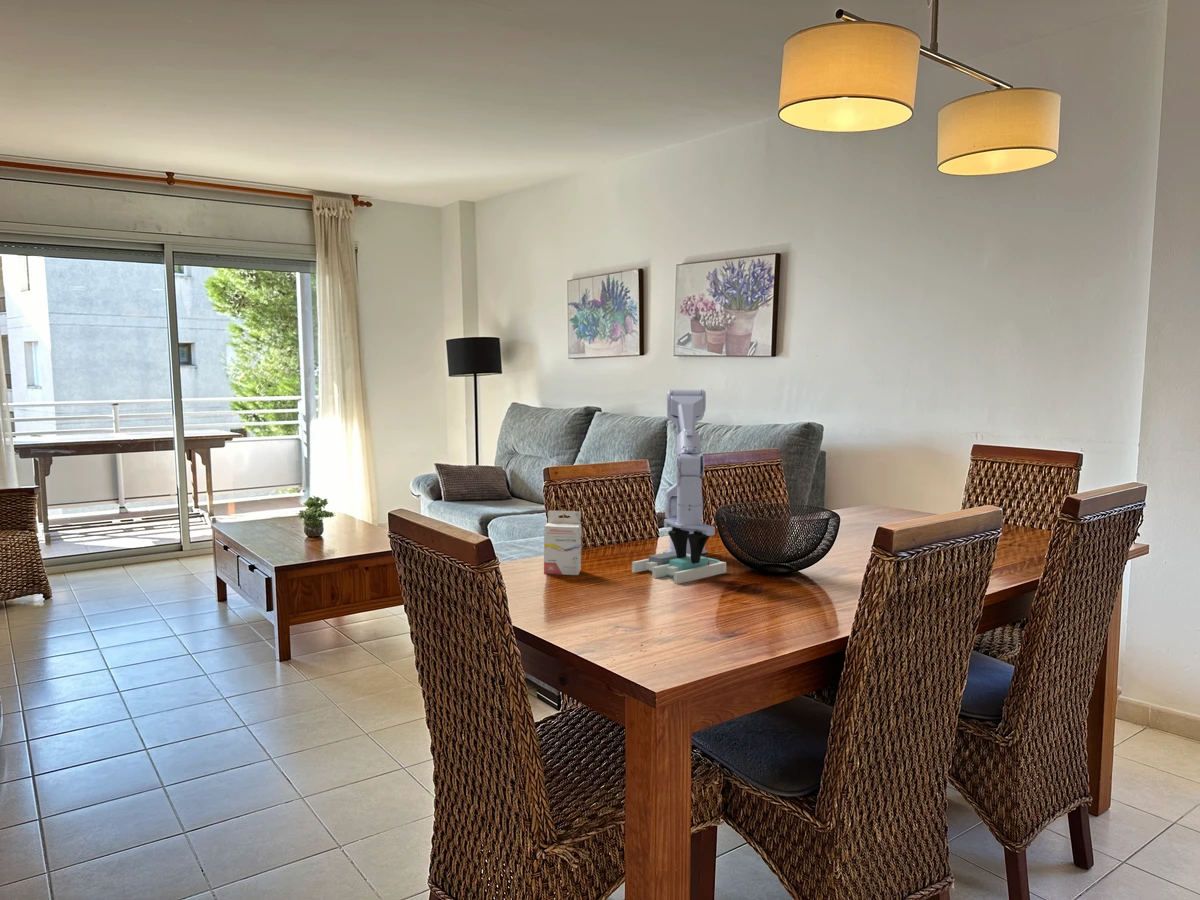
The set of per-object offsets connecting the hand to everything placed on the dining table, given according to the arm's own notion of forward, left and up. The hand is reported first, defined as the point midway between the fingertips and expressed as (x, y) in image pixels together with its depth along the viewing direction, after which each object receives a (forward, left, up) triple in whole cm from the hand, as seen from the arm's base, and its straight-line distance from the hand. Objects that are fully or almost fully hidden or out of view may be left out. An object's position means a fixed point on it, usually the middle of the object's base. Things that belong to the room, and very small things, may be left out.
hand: (688, 561), depth 196 cm
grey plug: (0, -7, -4) cm, 8 cm away
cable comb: (-1, -4, -3) cm, 5 cm away
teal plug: (0, 0, -3) cm, 3 cm away
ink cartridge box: (+21, -22, -4) cm, 30 cm away
